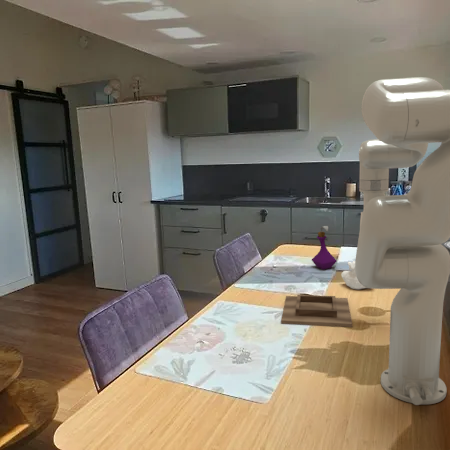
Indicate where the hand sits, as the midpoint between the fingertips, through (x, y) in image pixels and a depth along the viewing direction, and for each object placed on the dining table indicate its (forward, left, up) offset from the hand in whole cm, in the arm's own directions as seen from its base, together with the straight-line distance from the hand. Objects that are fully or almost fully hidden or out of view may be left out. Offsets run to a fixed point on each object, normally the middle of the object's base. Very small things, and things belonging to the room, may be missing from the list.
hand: (372, 248), depth 115 cm
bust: (+27, +2, -22) cm, 35 cm away
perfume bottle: (+51, +13, -22) cm, 57 cm away
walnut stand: (+4, +16, -21) cm, 27 cm away
